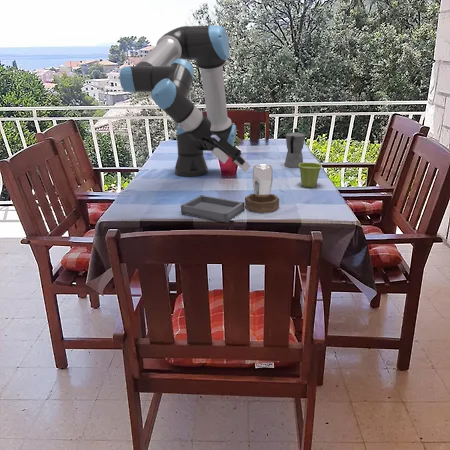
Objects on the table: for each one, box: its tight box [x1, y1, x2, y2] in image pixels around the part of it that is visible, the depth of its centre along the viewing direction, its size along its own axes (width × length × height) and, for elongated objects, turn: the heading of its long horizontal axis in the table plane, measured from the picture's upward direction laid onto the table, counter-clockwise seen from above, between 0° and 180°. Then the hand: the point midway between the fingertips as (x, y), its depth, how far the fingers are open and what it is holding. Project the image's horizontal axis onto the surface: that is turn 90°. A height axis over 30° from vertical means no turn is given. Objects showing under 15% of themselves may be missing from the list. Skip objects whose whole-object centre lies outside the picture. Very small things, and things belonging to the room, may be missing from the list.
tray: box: [180, 194, 245, 223], centre depth 151 cm, size 18×13×3 cm
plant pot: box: [298, 162, 323, 188], centre depth 177 cm, size 9×9×9 cm
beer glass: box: [252, 163, 273, 203], centre depth 152 cm, size 7×7×15 cm
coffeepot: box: [284, 128, 306, 169], centre depth 205 cm, size 15×9×18 cm, turn 161°
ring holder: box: [244, 193, 280, 214], centre depth 155 cm, size 11×11×4 cm
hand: (236, 164), depth 144 cm, fingers open, 13 cm apart
